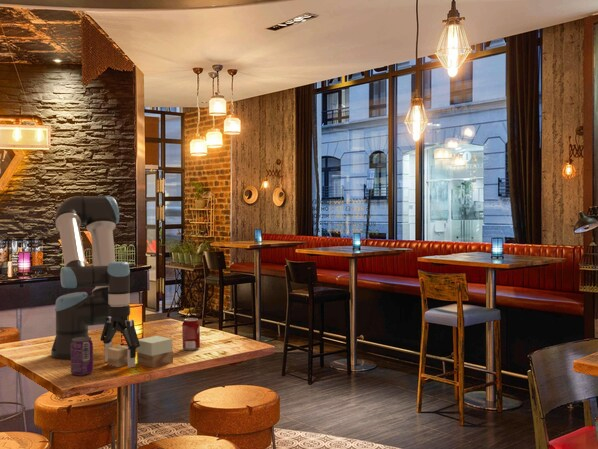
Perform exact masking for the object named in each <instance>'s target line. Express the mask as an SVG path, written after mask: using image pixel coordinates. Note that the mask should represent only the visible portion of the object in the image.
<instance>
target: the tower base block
mask: <svg viewBox="0 0 598 449" xmlns="http://www.w3.org/2000/svg"><path fill="white" fill-rule="evenodd" d="M136 363H137V364H138V365H142V366H144V367H145V366H146V367H150V368H153V369H154V368H158V367H161V366H164V365H168V364H172V363H174V351H173V350H172V352H167V353H163V354H158V355H154V356H150V355H146V354H142V353H138V352H137V351H136ZM137 364H136V365H137Z"/></svg>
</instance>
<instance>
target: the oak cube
mask: <svg viewBox="0 0 598 449" xmlns="http://www.w3.org/2000/svg"><path fill="white" fill-rule="evenodd" d="M128 348H129V347H128V345H127V346H126V345H117V346H112V348H108V362H107V365H108V364H109V366H111V365H112V367H114V366H115V368H121V367H126V366H128V355H127V349H128Z"/></svg>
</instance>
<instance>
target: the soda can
mask: <svg viewBox="0 0 598 449" xmlns="http://www.w3.org/2000/svg"><path fill="white" fill-rule="evenodd" d="M181 326H182V327H181V328H182V329H181V330H182V338H181V339H182V350H185V351H188V352H191V351H193V352H194V351H198V349H200V348H201V338H200V336H201V335H200V334H201V330H200V328H201V325H200V322H199V319H198V318H197V317H187V318H184V319H183V322H182V325H181Z"/></svg>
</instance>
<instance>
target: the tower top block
mask: <svg viewBox="0 0 598 449" xmlns="http://www.w3.org/2000/svg"><path fill="white" fill-rule="evenodd" d="M138 340H139V344H140V347H137V348H136V353H137V352H138V353H142V354H146V355H150V356H154V355H158V354H163V353H167V352H172V351H173V338H170V337H169V338H168V337H165V336H161V335H154V336H149V337H144V338H138Z"/></svg>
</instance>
